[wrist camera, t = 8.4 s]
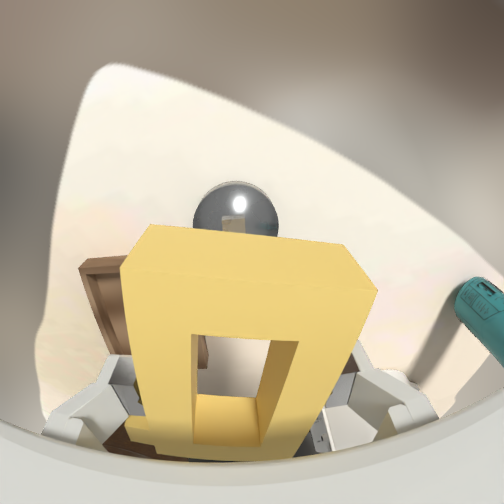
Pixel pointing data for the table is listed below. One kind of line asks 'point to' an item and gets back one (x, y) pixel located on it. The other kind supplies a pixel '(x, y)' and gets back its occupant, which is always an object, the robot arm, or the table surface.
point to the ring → (238, 336)
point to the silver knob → (237, 210)
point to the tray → (115, 305)
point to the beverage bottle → (483, 314)
